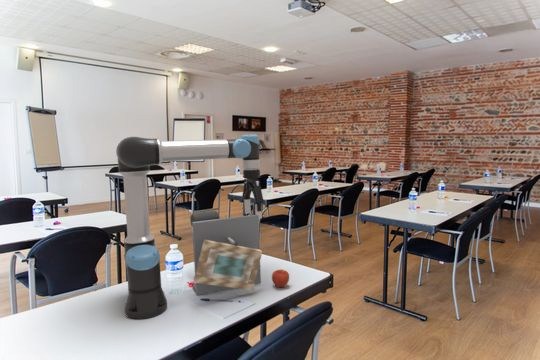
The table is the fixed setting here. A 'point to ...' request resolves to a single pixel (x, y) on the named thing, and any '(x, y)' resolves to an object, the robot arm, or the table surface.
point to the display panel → (225, 241)
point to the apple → (280, 278)
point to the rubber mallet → (204, 216)
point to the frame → (227, 265)
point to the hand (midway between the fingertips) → (253, 215)
